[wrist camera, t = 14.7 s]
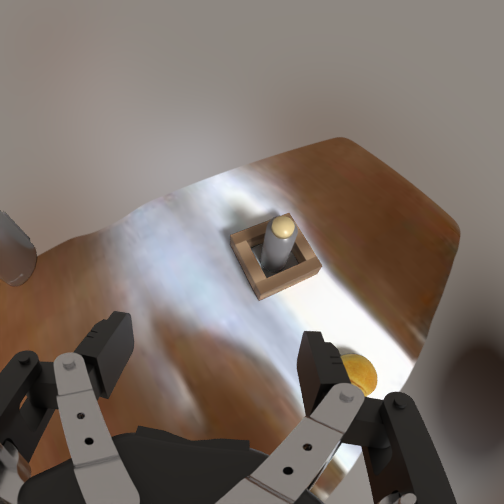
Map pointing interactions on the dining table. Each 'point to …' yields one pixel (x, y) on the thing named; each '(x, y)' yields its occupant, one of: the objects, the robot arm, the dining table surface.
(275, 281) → the socket
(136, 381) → the dining table surface
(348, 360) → the bread roll
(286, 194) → the dining table surface
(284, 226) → the plug
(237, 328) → the dining table surface
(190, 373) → the dining table surface
